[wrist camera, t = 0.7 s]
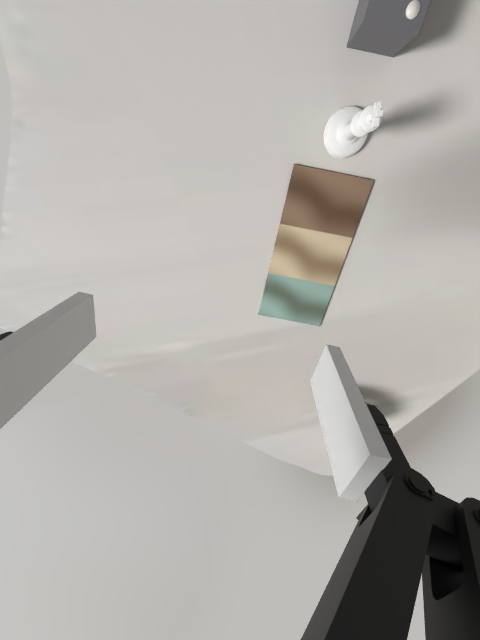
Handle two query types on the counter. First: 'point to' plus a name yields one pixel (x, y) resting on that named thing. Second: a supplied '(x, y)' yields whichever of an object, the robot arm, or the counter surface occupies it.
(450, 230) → the counter surface
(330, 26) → the counter surface
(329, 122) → the chess piece
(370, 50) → the die
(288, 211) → the track
